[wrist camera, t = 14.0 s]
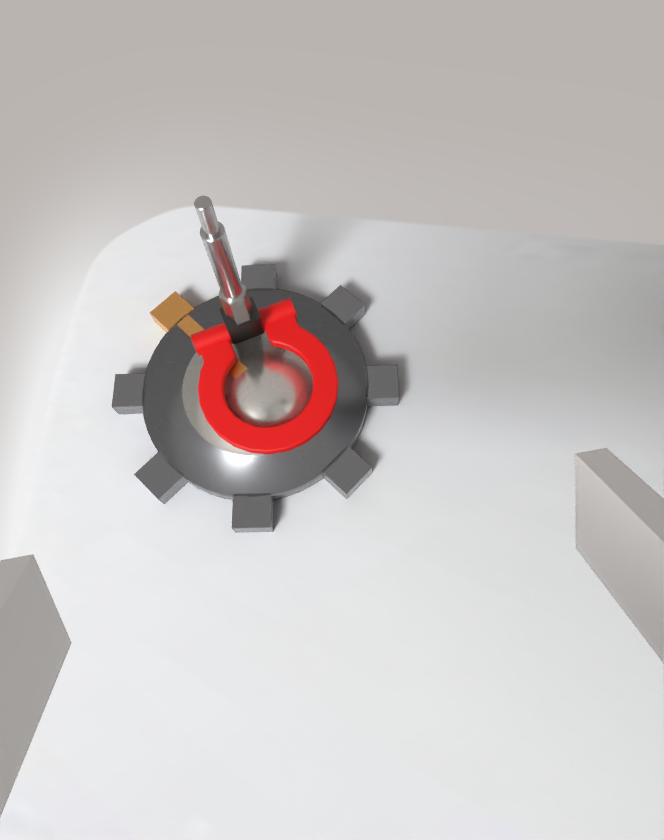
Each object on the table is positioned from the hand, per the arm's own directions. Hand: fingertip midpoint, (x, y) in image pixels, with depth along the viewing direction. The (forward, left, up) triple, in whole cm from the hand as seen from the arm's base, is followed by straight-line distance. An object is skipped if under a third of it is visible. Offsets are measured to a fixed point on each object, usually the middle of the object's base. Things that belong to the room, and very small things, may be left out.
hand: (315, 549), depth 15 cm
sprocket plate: (+5, -13, -21) cm, 25 cm away
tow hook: (+4, -14, -20) cm, 24 cm away
